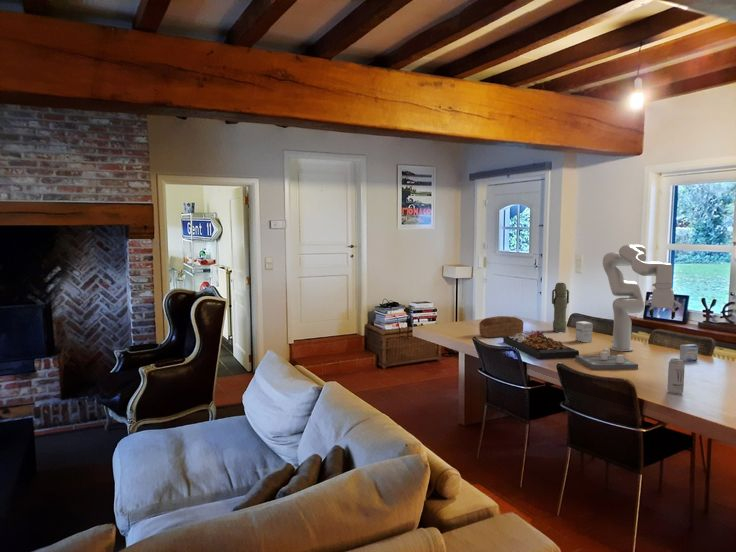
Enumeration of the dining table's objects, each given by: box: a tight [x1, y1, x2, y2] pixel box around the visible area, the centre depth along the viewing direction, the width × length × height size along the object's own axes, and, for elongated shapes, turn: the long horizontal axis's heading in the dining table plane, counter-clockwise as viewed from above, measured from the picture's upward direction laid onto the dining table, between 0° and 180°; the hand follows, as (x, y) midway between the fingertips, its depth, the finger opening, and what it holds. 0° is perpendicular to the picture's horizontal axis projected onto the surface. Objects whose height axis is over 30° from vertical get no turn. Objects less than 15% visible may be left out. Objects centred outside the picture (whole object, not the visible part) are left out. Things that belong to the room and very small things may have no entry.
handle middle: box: [600, 351, 608, 360], centre depth 272 cm, size 2×3×4 cm, turn 92°
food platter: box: [502, 329, 580, 361], centre depth 307 cm, size 45×25×10 cm, turn 11°
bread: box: [478, 315, 525, 338], centre depth 348 cm, size 12×31×14 cm, turn 103°
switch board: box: [575, 354, 639, 371], centre depth 272 cm, size 20×24×3 cm
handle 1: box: [602, 348, 611, 357], centre depth 279 cm, size 2×3×4 cm, turn 92°
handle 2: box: [616, 354, 625, 363], centre depth 265 cm, size 2×3×4 cm, turn 92°
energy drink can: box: [667, 357, 686, 396], centre depth 223 cm, size 6×6×15 cm
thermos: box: [551, 282, 570, 333], centre depth 361 cm, size 9×12×35 cm
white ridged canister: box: [575, 320, 594, 343], centre depth 329 cm, size 7×7×13 cm
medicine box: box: [679, 343, 699, 362], centre depth 280 cm, size 8×4×9 cm, turn 105°
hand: (662, 318), depth 270 cm, fingers open, 9 cm apart
